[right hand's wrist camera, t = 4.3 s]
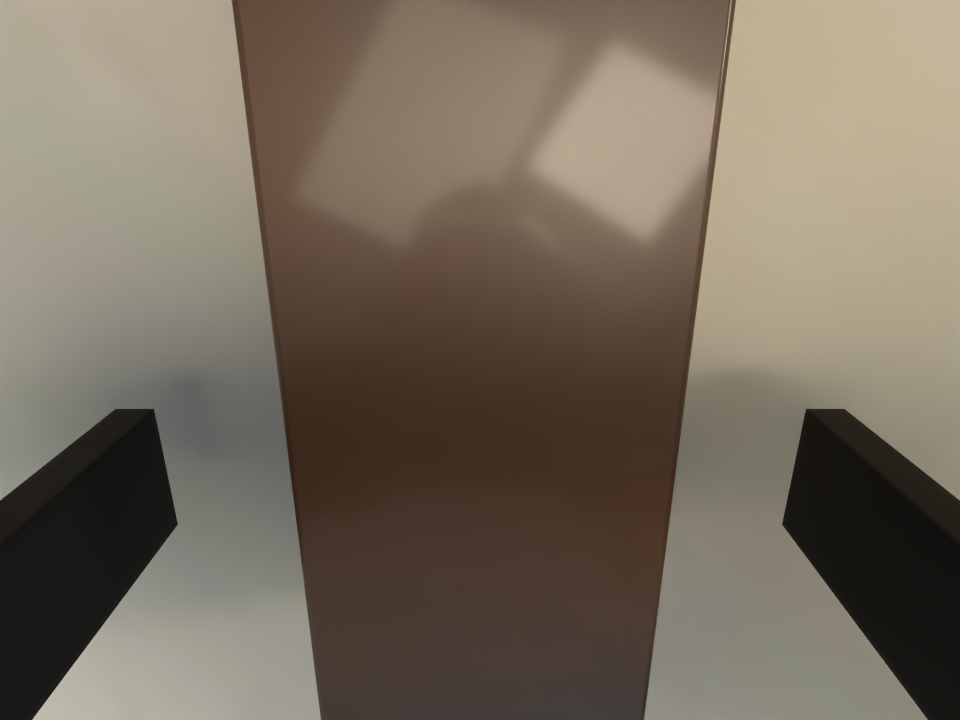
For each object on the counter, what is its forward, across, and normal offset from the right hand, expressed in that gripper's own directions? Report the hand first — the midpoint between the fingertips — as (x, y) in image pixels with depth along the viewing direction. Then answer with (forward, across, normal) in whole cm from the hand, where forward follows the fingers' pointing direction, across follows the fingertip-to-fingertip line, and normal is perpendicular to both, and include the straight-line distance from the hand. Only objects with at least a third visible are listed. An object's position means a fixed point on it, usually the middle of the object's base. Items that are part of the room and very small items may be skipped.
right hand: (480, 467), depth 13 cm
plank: (+2, 0, -10) cm, 10 cm away
